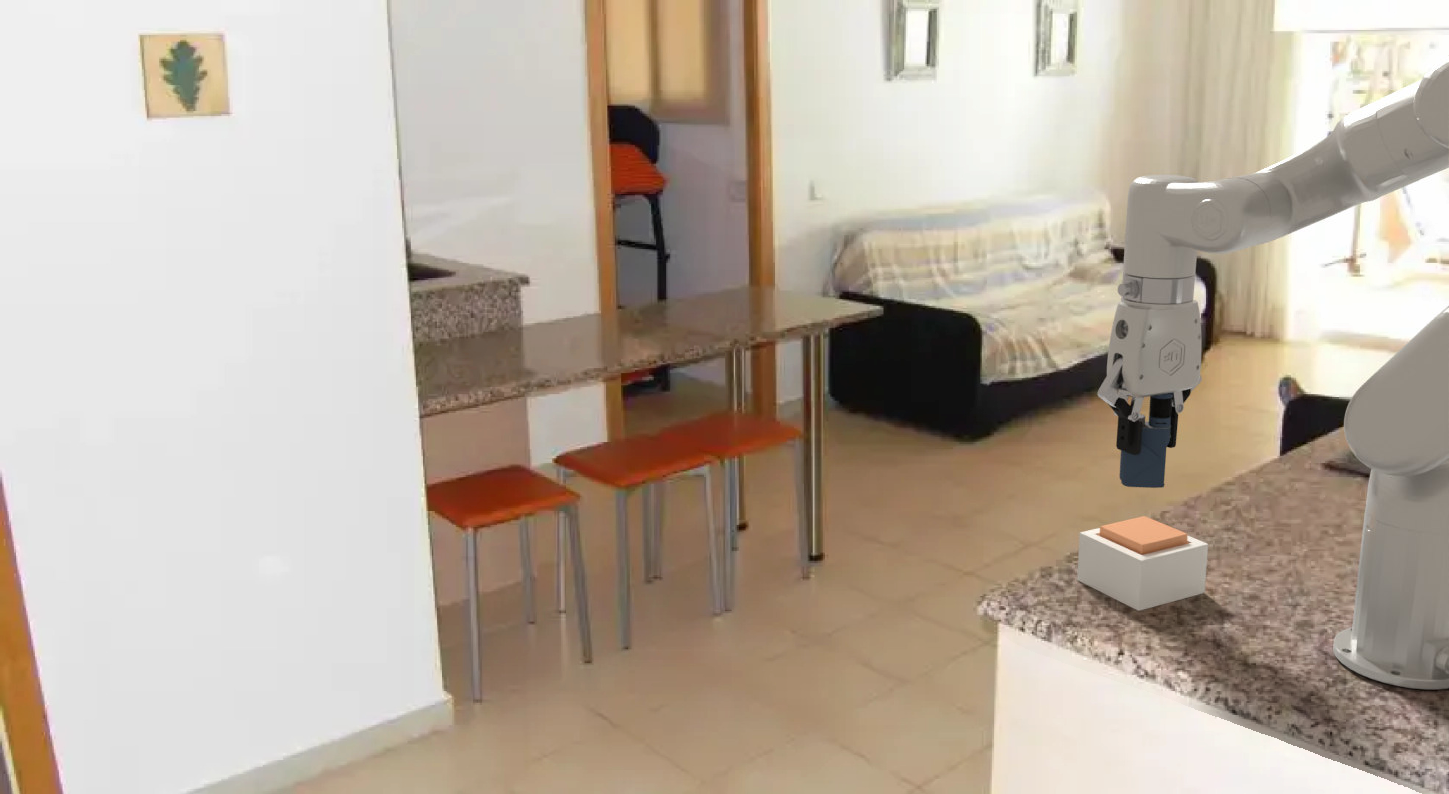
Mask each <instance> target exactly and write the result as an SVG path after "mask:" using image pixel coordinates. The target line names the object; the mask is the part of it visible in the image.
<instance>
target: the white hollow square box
mask: <svg viewBox="0 0 1449 794" xmlns="http://www.w3.org/2000/svg"><path fill="white" fill-rule="evenodd" d="M1078 539H1079V540H1078V557H1077V560H1078V562H1077V579H1076V580H1077V581H1079V582H1081V583H1082V584H1084V585H1086V586H1088V587H1090V588H1092V589H1095V590H1097V591H1099V592H1100V593H1102V594H1104V595H1106V596H1108V597H1110V598H1112V599H1114V600H1115V601H1118V602H1120V603H1122V604H1124V605H1126V606H1128V607H1130V608H1132V609H1134V610H1136V611H1137V612H1140V611H1143V610H1147V609H1151V608H1154V607H1158V606H1161V605H1165V604H1169V603H1172V602H1175V601H1180V600H1183V599H1187V598H1190V597H1195V596H1198V595H1202V594H1205V590H1206V577H1207V563H1208V551H1209V543H1206V542H1205V541H1202V540H1200V539H1197V538H1195V537H1193V536H1190V535H1188V536H1187V544H1185V545H1181V546H1177V547H1173V548H1169V549H1165V550H1161V551H1157V552H1153V553H1149V554H1145V555H1140V554H1138V553H1136V552H1134V551H1131V550H1129V549H1127V548H1125V547H1123V546H1120V545H1118V544H1116V543H1114V542H1111V541H1109V540H1107V539H1105V538H1103V537H1100V527H1097V528H1093V529H1089V530H1085V531H1081V532H1080V531H1079V538H1078Z"/></svg>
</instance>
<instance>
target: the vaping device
mask: <svg viewBox="0 0 1449 794" xmlns="http://www.w3.org/2000/svg"><path fill="white" fill-rule="evenodd" d="M1172 394H1173V392H1171V393H1166V394H1160V395H1154V396H1149V397H1150V398H1149V411H1148V412H1149V413H1148V421H1146V415H1144V414H1142V413H1140V415H1139V418H1138V420H1141V421H1142V423H1143V426H1142V440H1141V452H1140V454H1138V455H1132V454H1130V453H1127V452H1124V451H1122V450H1120V461H1119V479H1120V483H1121V484H1122V485H1123V486H1125V487H1128V488H1147V489H1148V488H1150V489H1152V488H1153V489H1156V488H1157V489H1158V488H1162V489H1163V488H1164V487H1165V475H1166V458H1167V448H1168V447H1167V445H1168V443H1169V442H1170V438H1171V435H1170V429H1171V425H1170V423H1171V409H1172Z"/></svg>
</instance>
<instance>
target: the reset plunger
mask: <svg viewBox="0 0 1449 794" xmlns="http://www.w3.org/2000/svg"><path fill="white" fill-rule="evenodd" d="M1099 528H1100V537H1103V538H1105V539H1107V540H1109V541H1111V542H1114V543H1116V544H1118V545H1120V546H1123V547H1125V548H1127V549H1129V550H1131V551H1134V552H1136V553H1138V554H1140V555H1145V554H1149V553H1153V552H1157V551H1161V550H1165V549H1169V548H1173V547H1177V546H1181V545H1185V544H1187V536H1189V535H1188V533H1186V532H1184V531H1182V530H1179V529H1178V528H1177V529H1176V528H1174V527H1173V526H1169V525H1167V524H1165V523H1162V522H1159V521H1157V520H1154V519H1153V518H1151V517H1147V516H1145V515H1142V516H1138V517H1135V518H1130V519H1125V520H1122V521H1117V522H1112V523H1109V524H1105V525H1104V524H1103V525H1101V526H1099Z"/></svg>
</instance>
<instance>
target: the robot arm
mask: <svg viewBox="0 0 1449 794" xmlns="http://www.w3.org/2000/svg"><path fill="white" fill-rule="evenodd" d="M1446 169H1449V55H1448V56H1446V57H1443V59H1440V60H1439V61H1437V63H1435V64H1434V65H1433V66H1431V67H1430V68H1429V69H1428V71H1427V72H1425V74H1424V75H1423V77H1422V79H1419V80H1418V81H1415V82H1413V83H1411V84H1409V85H1407V86H1405V87H1403V88H1401V89H1399V90H1396V91H1395V92H1392V93H1390V94H1388V95H1386V96H1383V97H1381V98H1378V99H1376V100H1375V101H1373V102H1371V103H1369V104H1367V105H1365V106H1361V107H1360V108H1357V109H1355V110H1353V111H1351V112H1349V113H1348V114H1346V115H1344V117H1342V118H1341V119H1339V120H1338V122H1337V123H1336V125H1335V127H1334V129H1333V130H1332V131H1331V132H1330V134H1328V135H1327V136H1326V137H1325V138H1323V139H1322V140H1320V141H1318V142H1317V143H1315V144H1313V145H1312V146H1310V147H1308V148H1306V149H1304V150H1302V151H1300V152H1298V153H1296V154H1294V155H1291V156H1289V157H1287V158H1285V159H1283V160H1281V161H1279V162H1277V163H1275V164H1273V165H1270V166H1268V167H1266V168H1264V169H1263V168H1262V169H1261V170H1258V171H1257V172H1254V173H1251V174H1244V175H1237V176H1233V177H1228V178H1225V179H1218V180H1213V181H1210V180H1209V181H1203V182H1199V180H1197V179H1196V178H1194V177H1191V176H1185V175H1178V174H1151V175H1150V174H1149V175H1143V176H1139V177H1137V178H1135V179H1134V180H1133V181H1132V182H1131V183H1130V185H1129V187H1128V195H1127V205H1126V206H1127V207H1126V219H1125V220H1126V222H1125V223H1126V224H1125V234H1124V235H1125V236H1124V252H1123V255H1124V256H1123V269H1122V270H1123V272H1122V281H1121V282H1122V283H1120V284H1118V286H1117V293H1118V294H1119V296H1120V297H1121V298H1120V302H1118V303H1117V306H1116V308H1115V309H1116V310H1115V313H1114V318H1113V322H1112V327H1111V333H1110V336H1109V337H1110V339H1109V343H1108V344H1109V346H1108V352H1107V361H1106V362H1107V364H1106V377H1105V378H1104V379H1103V382H1102V383H1101V385H1100V387H1099V388H1098V390H1097V394H1096V395H1097V396H1098V398H1100V399H1101V400H1102V401H1104V402H1105V403H1107V405H1108V406H1109V407H1110V408H1111V409H1112V411H1113V415H1114V416H1117V429H1116V430H1117V433H1116V444H1115V445H1116V449H1118V450H1120V451H1121V450H1122V451H1124V452H1127V453H1130V454H1132V455H1138V454H1140V452H1141V440H1142V426H1143V423H1142V421H1141V420H1138V418H1139V415H1140V414H1141V410H1142V407H1143V402H1144V399H1145V398H1146V397H1147V398H1149V397H1150V396H1154V395H1160V394H1166V393H1171V392H1173V394H1172V409H1171V423H1170V425H1171V429H1170V435H1171V438H1170V442H1169V443H1168V445H1167V448H1169V449H1172V448H1175V447H1177V446H1176V445H1177V436H1178V422H1179V414H1181V413H1182V412H1183V411H1184V407H1185V405H1184V404H1185V402H1186V401H1187V400H1188V398H1189V397H1190V396H1191V393H1192V392H1193V391H1194V390H1195V388H1197V386H1198V385H1199V384H1201V382H1202V380H1203V379H1202V376H1201V369H1202V368H1201V367H1202V323H1201V321H1202V320H1201V313H1200V307H1199V303H1198V300H1196V299H1194V296H1195V294H1194V293H1195V281H1196V270H1197V269H1196V268H1197V259H1198V258H1197V257H1198V251H1200V252H1203V253H1209V254H1215V255H1222V254H1223V255H1224V254H1230V253H1235V252H1238V251H1242V250H1245V249H1248V248H1252V247H1254V246H1259V245H1263V244H1267V243H1270V242H1273V241H1275V240H1277V239H1278V240H1279V239H1280V238H1284V237H1285V236H1288V235H1291V234H1292V233H1295V232H1297V231H1300V230H1302V229H1304V228H1307V227H1309V226H1311V225H1313V224H1316V223H1319V222H1321V221H1323V220H1326V219H1327V218H1328V219H1329V218H1330V217H1332V216H1335V215H1337V214H1339V213H1341V212H1343V211H1346V210H1348V209H1351V208H1353V207H1355V206H1357V205H1360V204H1363V203H1368V202H1372V201H1376V200H1377V199H1380V198H1381V197H1383V196H1386V195H1389V194H1391V193H1393V192H1395V191H1397V190H1399V189H1403V188H1405V187H1407V186H1409V185H1411V184H1413V183H1416V182H1419V181H1420V180H1423V179H1425V178H1427V177H1429V176H1432V175H1435V174H1437V173H1440V172H1442V171H1444V170H1446ZM1129 397H1131V401H1130V404H1129V402H1128V400H1129ZM1343 430H1344V436H1345V440H1346V442H1347V445H1348V447H1349V449H1350V451H1351V453H1352V454H1353V455H1354V456H1355V457H1356V458H1357V460H1358V461H1360V463H1362V464H1363V465H1365V466H1366V467H1368V468H1369V469H1371V470H1370V474H1369V478H1368V479H1369V480H1368V485H1367V494H1366V502H1365V508H1364V514H1363V515H1364V516H1363V525H1362V532H1361V533H1362V535H1361V544H1360V551H1359V561H1358V571H1357V580H1356V588H1355V600H1354V606H1353V607H1354V608H1353V616H1352V617H1353V618H1352V626H1351V627H1347V628H1345V629H1342V630H1341V631H1340V632H1338V633H1336V635H1335V637H1334V639H1333V646H1332V649H1333V650H1332V651H1333V654H1334V655H1335V658H1336V659H1337V660H1338V661H1339V662H1340V663H1341V664H1342V665H1344V666H1345V667H1346V668H1348V669H1349V670H1351V671H1353V672H1355V673H1356V674H1359V675H1360V676H1363V677H1366V678H1368V679H1371V680H1374V681H1377V682H1380V683H1383V684H1387V685H1392V686H1396V687H1400V688H1408V689H1415V690H1416V689H1417V690H1445V689H1449V305H1448V306H1447V307H1445V308H1444V309H1443V310H1442V311H1441V312H1440V313H1439V314H1437V315H1436V316H1435V317H1433V319H1431V320H1430V321H1429V322H1428V323H1427V324H1426V325H1425V326H1424V327H1423V328H1422V329H1421V330H1420V331H1419V332H1417V334H1415V335H1414V336H1413V338H1411V339H1410V340H1409V341H1408V342H1407V343H1406V344H1405V345H1404V346H1403V347H1401V348H1400V349H1399V350H1398V351H1397V352H1396V353H1395V354H1394V355H1393V356H1392V357H1391V358H1390V359H1388V361H1386V362H1385V363H1383V365H1382V366H1381V367H1380V368H1379V369H1377V371H1375V373H1373V374H1372V376H1370V377H1369V378H1368V379H1367V380H1366V381H1365V382H1364V383H1363V384H1362V385H1361V386H1360V387H1359V388H1358V389H1357V390H1356V391H1355V392H1354V394H1353V396H1352V397H1351V398H1350V400H1349V402H1348V405H1347V406H1346V410H1345V413H1344V418H1343Z"/></svg>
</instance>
